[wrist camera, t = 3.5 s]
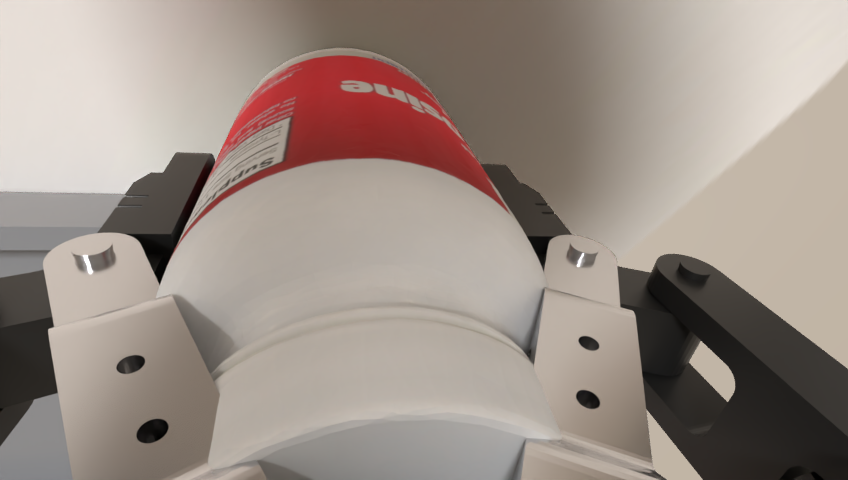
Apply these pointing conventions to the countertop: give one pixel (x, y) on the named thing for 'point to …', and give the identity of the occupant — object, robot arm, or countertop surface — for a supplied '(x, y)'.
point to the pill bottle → (360, 285)
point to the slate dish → (23, 253)
